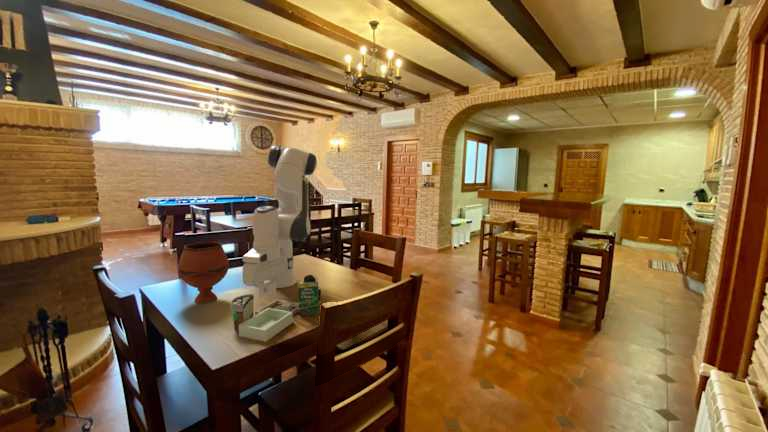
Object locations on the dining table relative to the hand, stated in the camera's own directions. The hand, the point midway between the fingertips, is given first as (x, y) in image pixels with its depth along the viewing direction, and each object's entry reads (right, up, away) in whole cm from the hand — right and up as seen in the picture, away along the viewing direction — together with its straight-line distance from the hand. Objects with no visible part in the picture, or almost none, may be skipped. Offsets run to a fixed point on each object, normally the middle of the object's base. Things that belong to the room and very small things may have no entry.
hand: (267, 290), depth 112 cm
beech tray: (-1, -13, +17) cm, 21 cm away
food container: (-11, -14, +4) cm, 19 cm away
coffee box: (+11, -13, +15) cm, 23 cm away
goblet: (-37, -11, +26) cm, 47 cm away
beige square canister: (+9, -12, +27) cm, 31 cm away
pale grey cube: (+2, -13, +16) cm, 21 cm away
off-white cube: (0, -2, 0) cm, 2 cm away
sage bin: (-1, -14, +2) cm, 15 cm away
